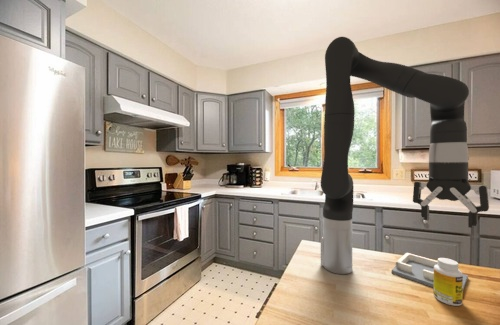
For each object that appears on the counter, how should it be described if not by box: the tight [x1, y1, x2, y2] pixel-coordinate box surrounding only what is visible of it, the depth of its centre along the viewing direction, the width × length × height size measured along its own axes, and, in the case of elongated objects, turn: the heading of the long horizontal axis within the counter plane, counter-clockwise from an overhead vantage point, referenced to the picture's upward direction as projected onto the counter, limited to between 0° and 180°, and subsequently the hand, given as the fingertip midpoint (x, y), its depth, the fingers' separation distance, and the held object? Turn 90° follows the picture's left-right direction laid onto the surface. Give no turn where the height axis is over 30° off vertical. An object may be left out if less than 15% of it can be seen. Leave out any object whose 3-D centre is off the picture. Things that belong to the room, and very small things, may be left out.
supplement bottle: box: [433, 257, 464, 307], centre depth 56 cm, size 6×6×10 cm
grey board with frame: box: [391, 252, 469, 294], centre depth 67 cm, size 16×14×3 cm
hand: (447, 223), depth 56 cm, fingers open, 8 cm apart
